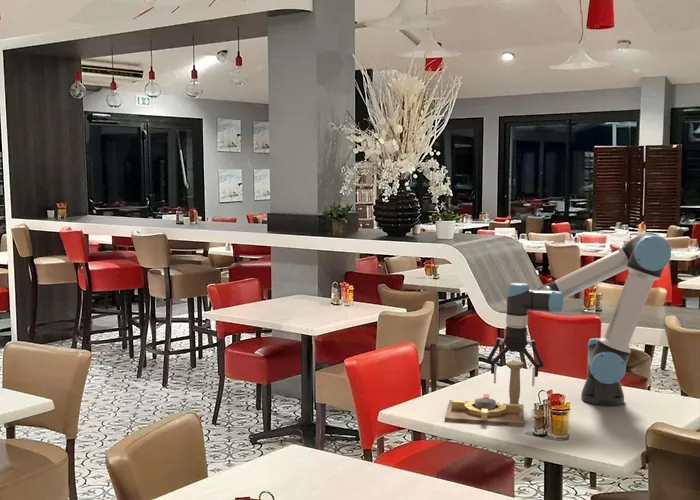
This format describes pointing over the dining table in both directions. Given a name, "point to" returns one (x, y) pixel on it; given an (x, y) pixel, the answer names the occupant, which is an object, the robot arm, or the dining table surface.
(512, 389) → the handle
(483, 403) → the board
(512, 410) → the ring nut
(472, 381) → the dining table surface
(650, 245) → the robot arm
